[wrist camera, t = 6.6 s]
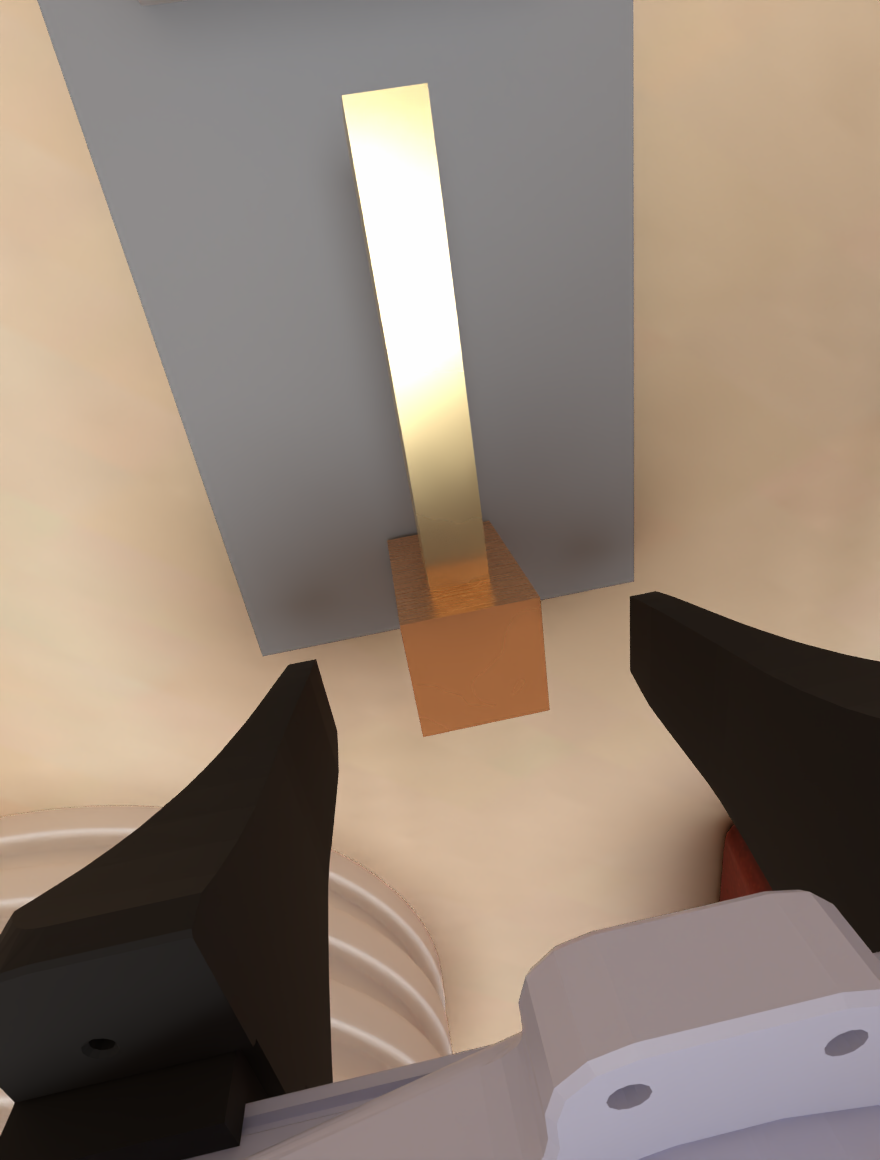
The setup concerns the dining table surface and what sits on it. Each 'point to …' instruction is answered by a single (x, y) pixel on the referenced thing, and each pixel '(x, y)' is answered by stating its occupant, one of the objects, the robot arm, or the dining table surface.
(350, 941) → the plate stack
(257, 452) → the block
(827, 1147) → the robot arm
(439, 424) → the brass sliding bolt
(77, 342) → the dining table surface
